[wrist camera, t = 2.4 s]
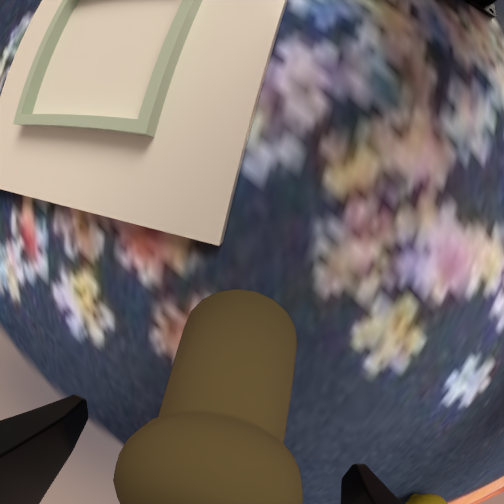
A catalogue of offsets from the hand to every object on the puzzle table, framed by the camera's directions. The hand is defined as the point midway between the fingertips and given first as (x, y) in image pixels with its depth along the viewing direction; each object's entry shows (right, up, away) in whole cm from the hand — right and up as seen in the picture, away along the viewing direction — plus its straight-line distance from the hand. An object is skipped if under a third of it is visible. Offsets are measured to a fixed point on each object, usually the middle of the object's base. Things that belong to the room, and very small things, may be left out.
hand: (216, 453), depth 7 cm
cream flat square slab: (-7, +17, +5) cm, 19 cm away
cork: (0, +1, +8) cm, 8 cm away
